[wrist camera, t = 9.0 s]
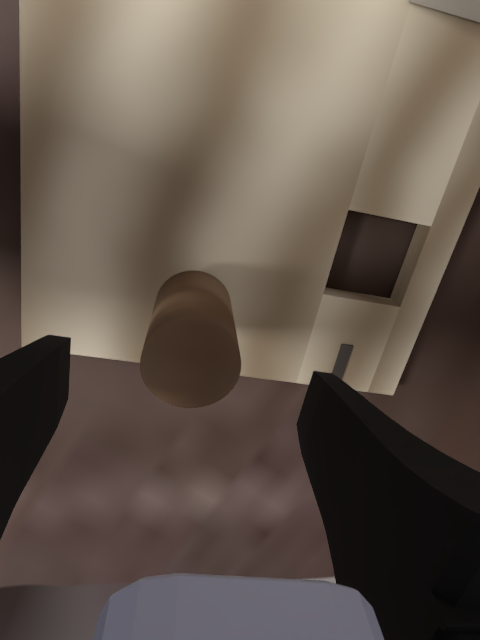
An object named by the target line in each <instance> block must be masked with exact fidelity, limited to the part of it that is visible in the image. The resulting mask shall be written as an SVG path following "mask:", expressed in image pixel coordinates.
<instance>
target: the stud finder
mask: <svg viewBox="0 0 480 640" xmlns="http://www.w3.org/2000/svg"><path fill="white" fill-rule="evenodd" d="M406 1H409V2H412V3H416V4H419V5H422V6H426V7H429V8H433V9H436V10H439V11H443V12H446V13H449V14H453V15H456V16H459V17H463V18H466V19H469V20H473V21H476V22H480V0H406Z"/></svg>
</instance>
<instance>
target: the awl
mask: <svg viewBox="0 0 480 640" xmlns="http://www.w3.org/2000/svg"><path fill="white" fill-rule="evenodd" d="M140 371H141V375H142V378H143V380H144V382H145V384H146V386H147V387H148V389H149V390H150V391H151V392H152V393H153V394H154V395H155V396H156V397H158V398H159V399H161V400H162V401H164V402H166V403H168V404H171V405H174V406H178V407H183V408H197V407H203V406H207V405H210V404H213V403H215V402H217V401H219V400H220V399H222V398H223V397H225V396H226V395H227V394H228V393H229V392H230V391H231V390H232V389H233V388H234V386H235V385H236V383H237V381H238V379H239V376H240V372H241V356H240V350H239V345H238V339H237V334H236V328H235V323H234V317H233V311H232V306H231V300H230V296H229V293H228V291H227V289H226V288H225V286H224V285H223V284H222V282H221V281H219V280H218V279H217V278H216V277H214V276H212V275H211V274H208V273H206V272H202V271H195V270H192V271H184V272H180V273H178V274H175V275H173V276H172V277H170V278H169V279H168V280H166V281H165V282H164V284H163V285H162V286H161V288H160V289H159V291H158V294H157V297H156V301H155V305H154V308H153V312H152V316H151V320H150V323H149V327H148V331H147V335H146V338H145V342H144V346H143V350H142V354H141V358H140Z"/></svg>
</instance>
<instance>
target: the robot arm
mask: <svg viewBox="0 0 480 640" xmlns="http://www.w3.org/2000/svg"><path fill="white" fill-rule="evenodd" d="M70 349H71V338H70V337H63V336H55V335H46V336H44V337H42V338H40V339H38V340H36V341H34V342H32V343H30V344H28V345H26V346H24V347H22V348H20V349H18V350H16V351H14V352H12V353H10V354H8V355H6V356H4V357H2V358H0V539H1V537H2V535H3V532H4V530H5V528H6V525H7V523H8V520H9V518H10V516H11V513H12V511H13V509H14V507H15V505H16V503H17V501H18V499H19V497H20V495H21V493H22V491H23V489H24V487H25V486H26V484H27V482H28V480H29V478H30V476H31V475H32V473H33V471H34V469H35V467H36V466H37V464H38V462H39V460H40V458H41V457H42V455H43V453H44V451H45V449H46V447H47V446H48V444H49V442H50V440H51V438H52V436H53V434H54V433H55V431H56V429H57V427H58V424H59V421H60V419H61V416H62V414H63V411H64V408H65V405H66V403H67V400H68V392H69V371H70ZM297 430H298V437H299V443H300V448H301V453H302V457H303V460H304V463H305V466H306V470H307V473H308V476H309V479H310V482H311V485H312V488H313V491H314V495H315V498H316V501H317V504H318V507H319V510H320V513H321V516H322V520H323V523H324V527H325V531H326V534H327V539H328V544H329V549H330V554H331V558H332V563H333V568H334V574H335V579H336V584H335V583H331V582H327V581H319V580H300V579H281V578H261V577H242V576H223V575H204V574H185V573H174V574H166V575H158V576H149V577H143V578H142V579H140V580H138V581H136V582H134V583H132V584H130V585H129V586H127V587H125V588H123V589H121V590H119V591H118V592H116V593H114V594H113V595H111V596H110V598H109V600H108V601H107V603H106V605H105V607H104V608H103V610H102V612H101V614H100V616H99V617H98V621H97V626H96V630H95V635H94V640H480V472H478V471H476V470H474V469H472V468H470V467H468V466H466V465H464V464H462V463H460V462H458V461H456V460H455V459H453V458H451V457H449V456H447V455H446V454H444V453H442V452H440V451H439V450H437V449H435V448H434V447H432V446H431V445H429V444H427V443H426V442H424V441H423V440H421V439H419V438H418V437H416V436H415V435H413V434H412V433H410V432H409V431H407V430H406V429H405V428H403V427H402V426H400V425H399V424H398V423H396V422H395V421H394V420H392V419H391V418H389V417H388V416H387V415H386V414H384V413H383V412H382V411H380V410H379V409H378V408H377V407H375V406H374V405H373V404H371V403H370V402H369V401H368V400H367V399H365V398H364V397H363V396H362V395H360V394H359V393H358V392H357V391H355V390H354V389H353V388H352V387H350V386H349V385H348V384H347V383H345V382H344V381H343V380H341V379H340V378H339V377H337V376H336V375H334V374H332V373H326V372H319V371H313V374H312V377H311V380H310V383H309V387H308V390H307V393H306V396H305V399H304V402H303V406H302V409H301V412H300V415H299V418H298V421H297Z"/></svg>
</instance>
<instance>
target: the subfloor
mask: <svg viewBox="0 0 480 640" xmlns="http://www.w3.org/2000/svg"><path fill="white" fill-rule="evenodd" d="M19 10H20V165H21V319H22V347H24V346H26V345H28V344H30V343H32V342H34V341H36V340H38V339H40V338H42V337H44V336H46V335H55V336H63V337H70V338H71V349H70V354H76V355H83V356H91V357H99V358H107V359H114V360H122V361H130V362H138V363H140V358H141V354H142V350H143V346H144V342H145V338H146V335H147V331H148V327H149V323H150V320H151V316H152V312H153V308H154V305H155V301H156V297H157V294H158V291H159V289H160V288H161V286H162V285H163V284H164V282H165V281H166V280H168V279H169V278H170V277H172V276H173V275H175V274H178V273H180V272H184V271H192V270H195V271H202V272H206V273H208V274H211V275H212V276H214V277H216V278H217V279H218V280H219V281H221V282H222V284H223V285H224V286H225V288H226V289H227V291H228V293H229V296H230V300H231V306H232V311H233V317H234V323H235V328H236V334H237V339H238V345H239V350H240V356H241V372H240V376H247V377H254V378H262V379H270V380H278V381H285V382H293V383H301V384H309V383H310V380H311V377H312V374H313V371H319V372H326V373H332V374H334V375H336V376H337V377H339V378H340V379H341V380H343V381H344V382H345V383H347V384H348V385H349V386H350V387H352V388H353V389H354V390H355V391H363V392H371V393H379V394H387V395H393V394H394V392H395V390H396V387H397V385H398V382H399V380H400V378H401V375H402V373H403V370H404V368H405V366H406V363H407V361H408V358H409V356H410V353H411V351H412V349H413V346H414V344H415V341H416V339H417V337H418V334H419V332H420V329H421V327H422V325H423V322H424V320H425V317H426V315H427V313H428V310H429V308H430V305H431V303H432V300H433V298H434V296H435V293H436V291H437V288H438V286H439V284H440V281H441V279H442V276H443V274H444V272H445V269H446V267H447V264H448V262H449V260H450V257H451V255H452V252H453V250H454V247H455V245H456V243H457V240H458V238H459V235H460V233H461V231H462V228H463V226H464V223H465V221H466V219H467V216H468V214H469V211H470V209H471V207H472V204H473V202H474V199H475V197H476V195H477V192H478V190H479V187H480V22H476V21H473V20H469V19H466V18H463V17H459V16H456V15H453V14H449V13H446V12H443V11H439V10H436V9H433V8H429V7H426V6H422V5H419V4H416V3H412V2H409V1H406V0H19ZM348 210H352V211H357V212H362V213H367V214H372V215H377V216H382V217H387V218H392V219H396V220H401V221H406V222H411V223H416V224H417V227H416V229H415V232H414V235H413V237H412V240H411V243H410V246H409V248H408V251H407V254H406V256H405V259H404V262H403V264H402V267H401V270H400V273H399V275H398V278H397V281H396V283H395V286H394V289H393V291H392V294H391V297H390V298H386V297H380V296H374V295H368V294H362V293H356V292H350V291H344V290H338V289H332V288H327V287H325V286H326V283H327V280H328V276H329V273H330V270H331V266H332V263H333V260H334V256H335V253H336V250H337V246H338V243H339V240H340V237H341V233H342V230H343V227H344V223H345V220H346V217H347V213H348Z"/></svg>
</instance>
